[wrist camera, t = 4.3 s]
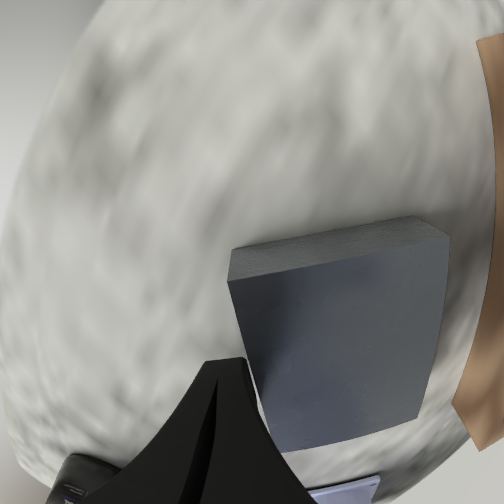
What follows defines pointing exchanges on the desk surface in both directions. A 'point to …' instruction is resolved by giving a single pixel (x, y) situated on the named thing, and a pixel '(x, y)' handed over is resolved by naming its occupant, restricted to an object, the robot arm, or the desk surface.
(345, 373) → the steel plate
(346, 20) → the desk surface
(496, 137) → the block
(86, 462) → the supplement bottle
